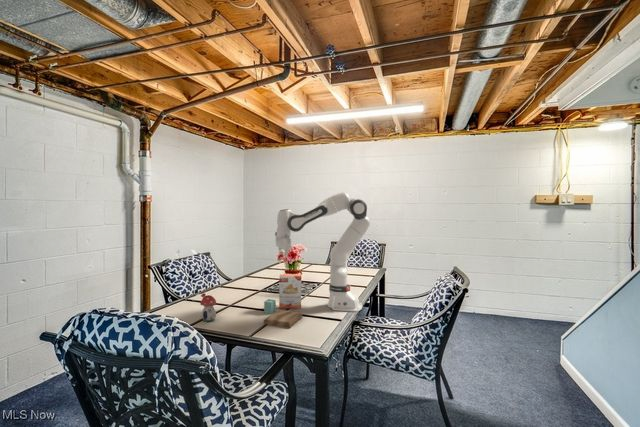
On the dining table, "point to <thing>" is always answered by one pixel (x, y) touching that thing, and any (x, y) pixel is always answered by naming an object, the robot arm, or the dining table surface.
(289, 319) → the base
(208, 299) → the decorative ornament
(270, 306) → the block
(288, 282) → the cracker box
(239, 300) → the dining table surface
